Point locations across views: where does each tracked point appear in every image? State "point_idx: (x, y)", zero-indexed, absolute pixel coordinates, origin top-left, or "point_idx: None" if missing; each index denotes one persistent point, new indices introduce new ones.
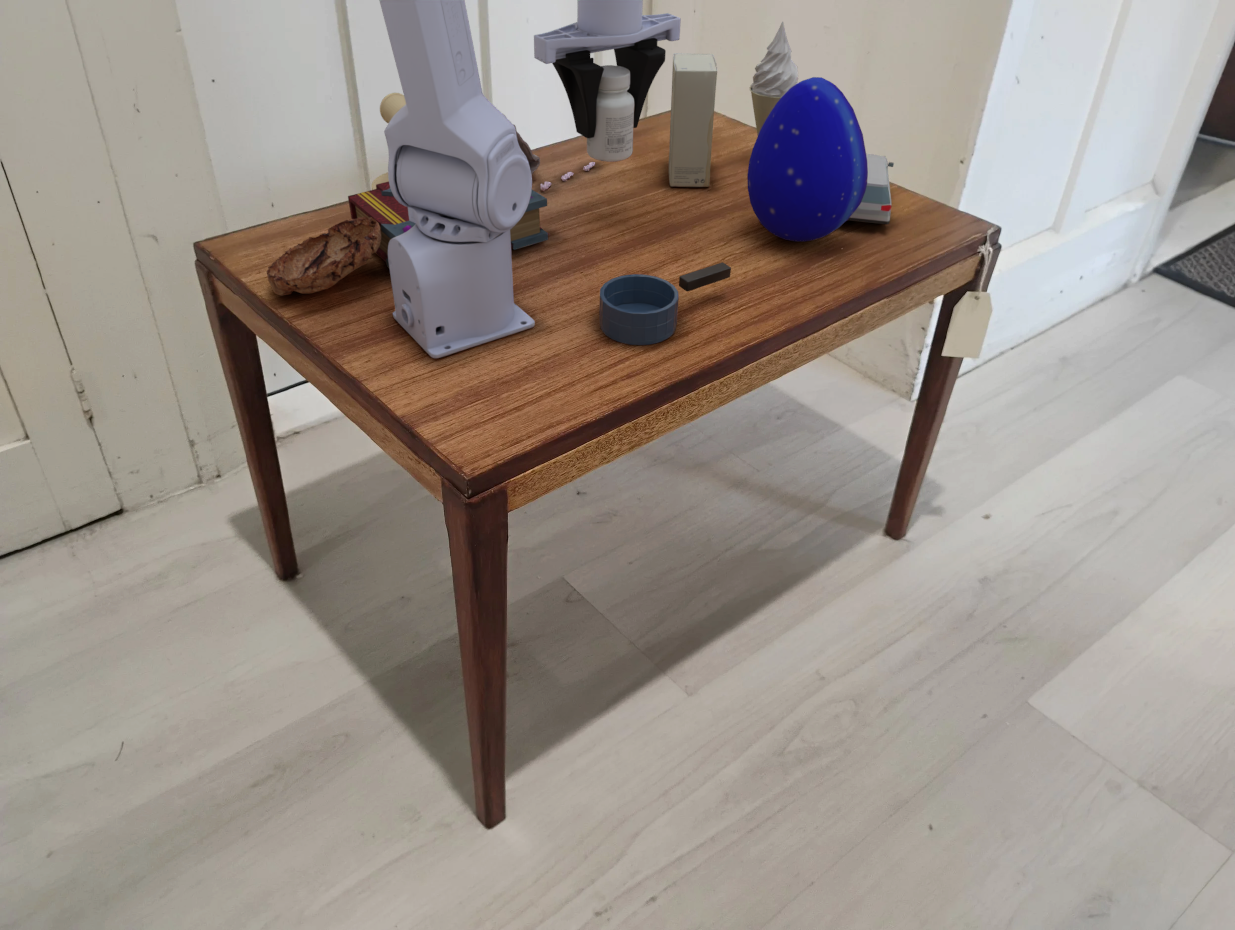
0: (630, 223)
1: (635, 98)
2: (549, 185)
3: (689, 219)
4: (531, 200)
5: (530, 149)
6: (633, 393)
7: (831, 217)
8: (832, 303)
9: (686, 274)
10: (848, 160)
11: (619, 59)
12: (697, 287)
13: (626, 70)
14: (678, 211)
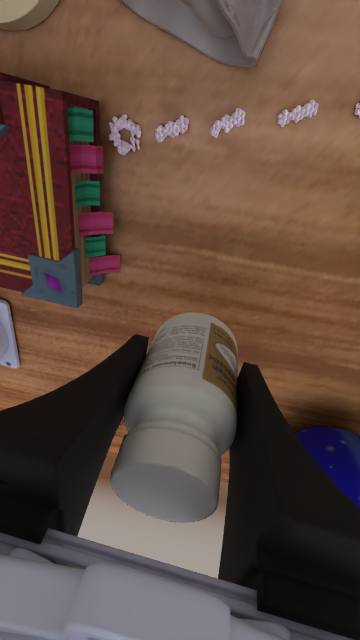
0: (224, 311)
1: (232, 450)
2: (237, 125)
3: (285, 354)
4: (55, 297)
5: (240, 36)
6: None
7: None
8: (223, 480)
9: None
10: None
11: (260, 486)
12: None
13: (198, 515)
14: (297, 334)
